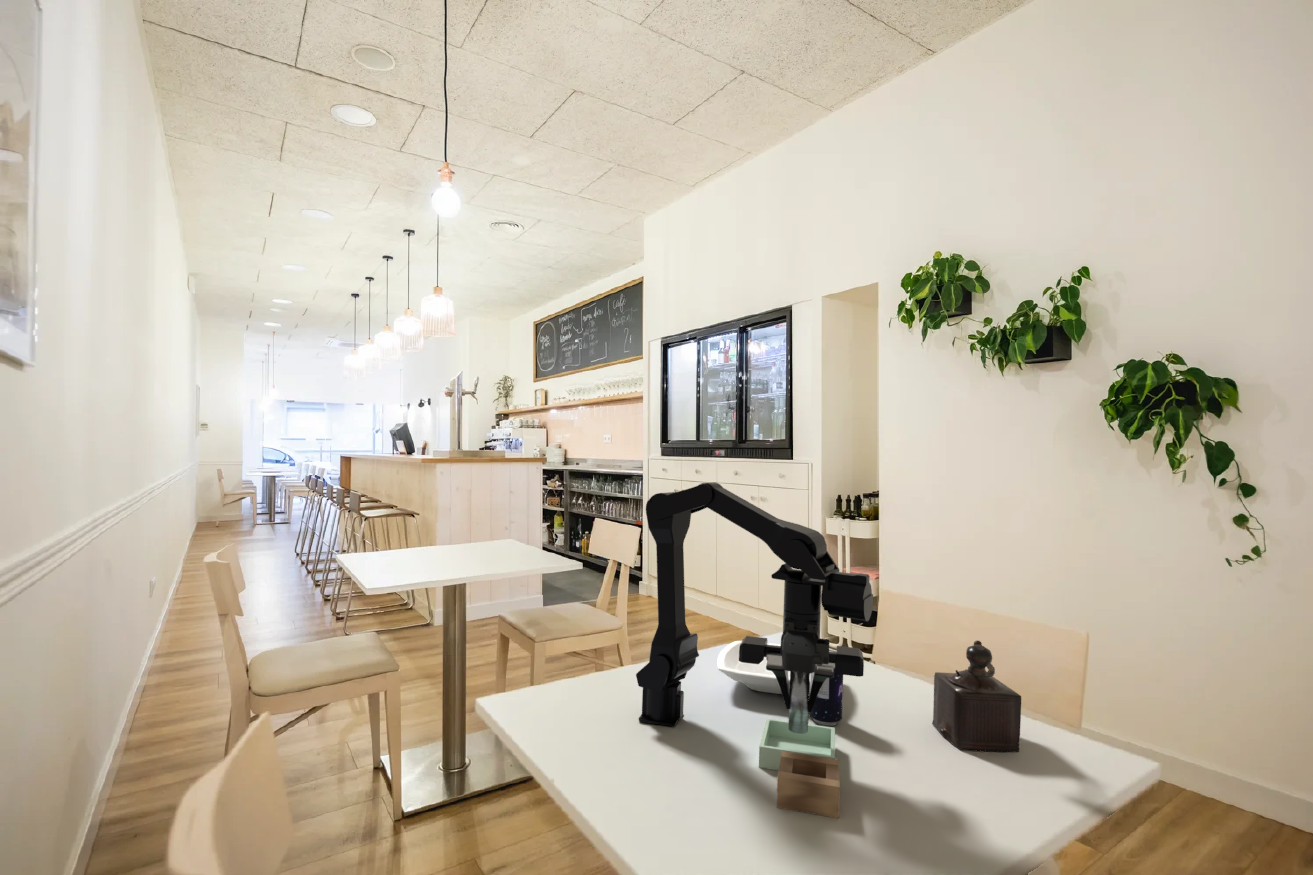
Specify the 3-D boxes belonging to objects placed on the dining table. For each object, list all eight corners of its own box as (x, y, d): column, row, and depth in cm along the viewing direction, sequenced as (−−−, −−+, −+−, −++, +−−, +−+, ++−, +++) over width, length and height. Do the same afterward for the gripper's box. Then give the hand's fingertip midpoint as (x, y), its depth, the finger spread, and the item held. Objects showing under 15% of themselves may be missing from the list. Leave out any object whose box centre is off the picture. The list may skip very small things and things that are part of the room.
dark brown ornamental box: (927, 723, 116) (929, 622, 117) (989, 726, 116) (991, 624, 117) (969, 765, 101) (972, 648, 101) (1040, 768, 101) (1042, 651, 101)
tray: (758, 767, 98) (759, 746, 98) (765, 736, 109) (766, 718, 109) (834, 779, 95) (835, 757, 95) (834, 746, 106) (834, 727, 106)
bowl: (833, 716, 118) (834, 685, 118) (707, 698, 125) (708, 668, 125) (835, 677, 140) (836, 650, 140) (728, 663, 146) (728, 638, 146)
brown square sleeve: (776, 807, 87) (777, 777, 87) (781, 778, 95) (781, 751, 95) (838, 818, 85) (839, 787, 85) (838, 788, 92) (839, 759, 93)
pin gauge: (787, 732, 101) (789, 667, 101) (788, 724, 104) (791, 661, 104) (807, 734, 100) (809, 669, 100) (808, 727, 103) (810, 663, 103)
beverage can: (843, 729, 113) (845, 659, 113) (809, 725, 114) (811, 656, 114) (840, 716, 118) (842, 649, 119) (808, 712, 120) (810, 646, 120)
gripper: (735, 616, 97) (731, 721, 97) (867, 629, 92) (863, 741, 92) (745, 600, 108) (741, 695, 107) (863, 611, 103) (860, 711, 103)
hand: (798, 710), depth 102 cm, fingers closed on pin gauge, 3 cm apart
